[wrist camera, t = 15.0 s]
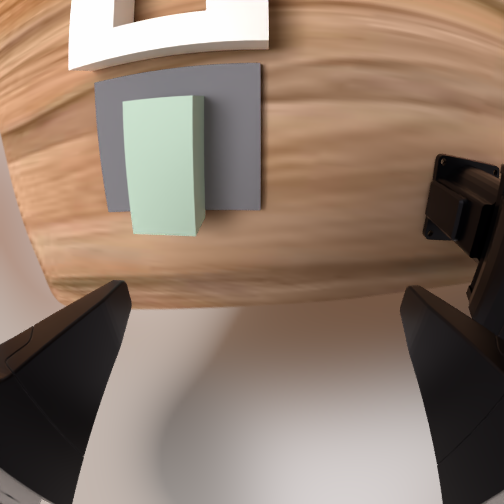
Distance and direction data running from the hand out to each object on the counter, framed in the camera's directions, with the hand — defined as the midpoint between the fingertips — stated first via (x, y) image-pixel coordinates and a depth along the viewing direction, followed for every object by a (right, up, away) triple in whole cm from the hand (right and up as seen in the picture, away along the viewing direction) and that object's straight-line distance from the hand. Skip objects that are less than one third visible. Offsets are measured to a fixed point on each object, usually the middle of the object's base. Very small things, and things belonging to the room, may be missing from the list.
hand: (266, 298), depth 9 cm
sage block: (-5, +7, +9) cm, 13 cm away
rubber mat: (-5, +9, +9) cm, 14 cm away
